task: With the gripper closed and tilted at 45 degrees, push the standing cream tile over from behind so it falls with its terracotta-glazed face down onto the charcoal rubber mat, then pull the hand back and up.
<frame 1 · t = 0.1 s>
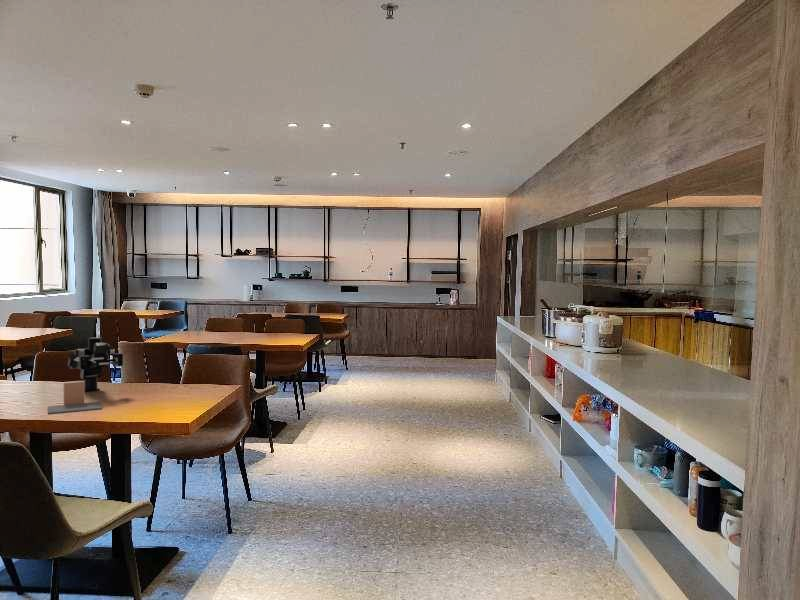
hand: (107, 363, 268), 16 cm above the table, tool horizontal, fingers open, 9 cm apart
glazed tile: (74, 404, 256), on the table
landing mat: (75, 408, 248), on the table
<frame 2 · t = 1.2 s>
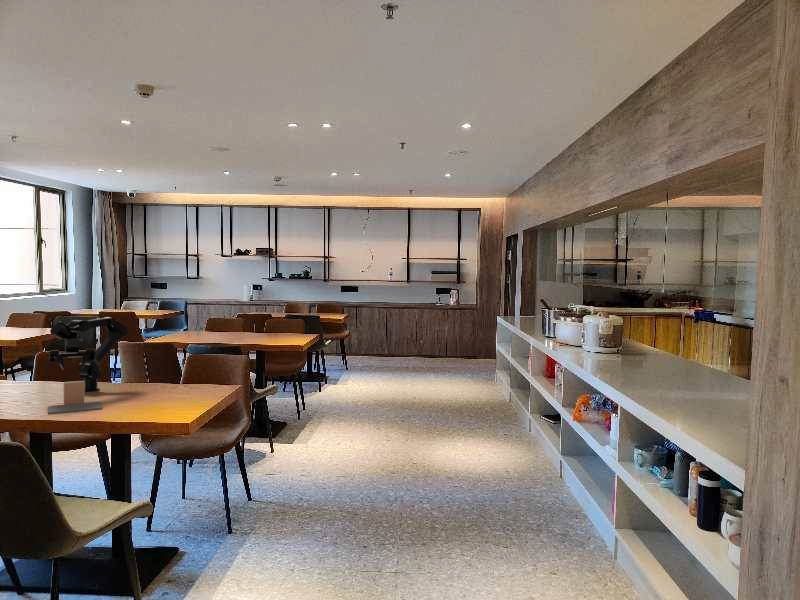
hand: (73, 369, 265), 14 cm above the table, tool tilted 45°, fingers open, 7 cm apart
nothing on the table moved.
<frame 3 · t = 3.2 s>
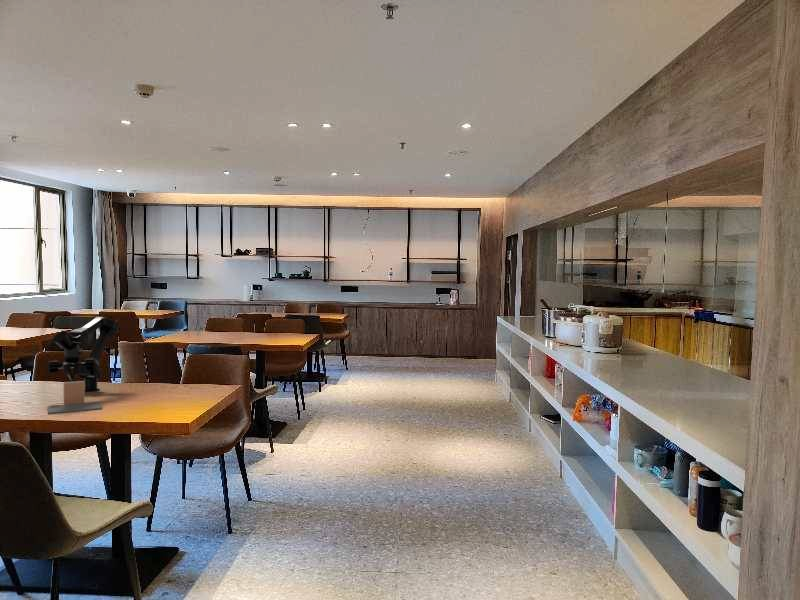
hand: (72, 380, 262), 9 cm above the table, tool tilted 45°, fingers closed
nothing on the table moved.
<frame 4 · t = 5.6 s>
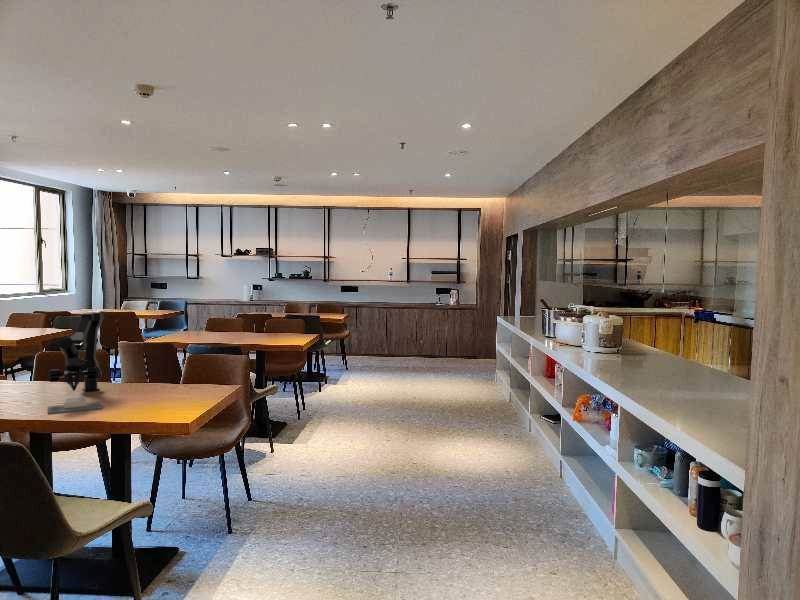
hand: (74, 390, 253), 7 cm above the table, tool tilted 45°, fingers closed
glazed tile: (74, 399, 255), point 2 cm above the table, tilted 90°, touching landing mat
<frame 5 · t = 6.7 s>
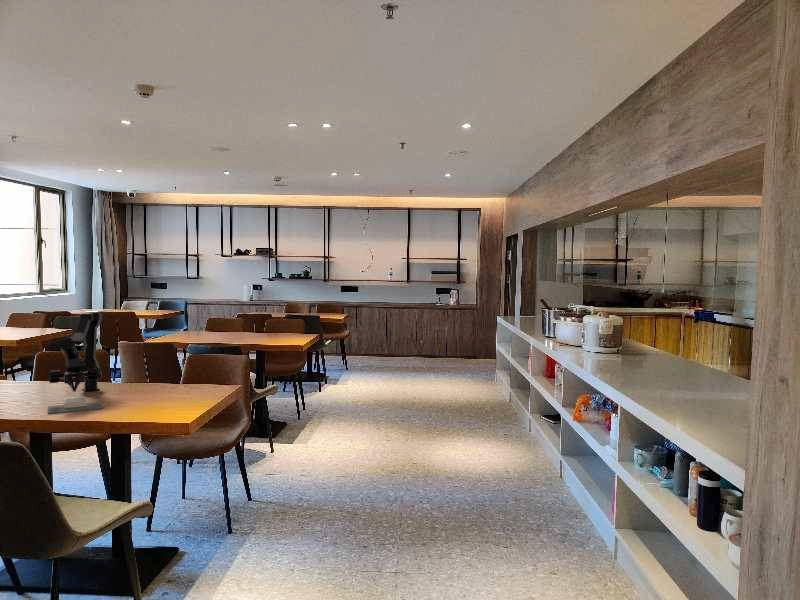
hand: (74, 391, 252), 7 cm above the table, tool tilted 45°, fingers closed
nothing on the table moved.
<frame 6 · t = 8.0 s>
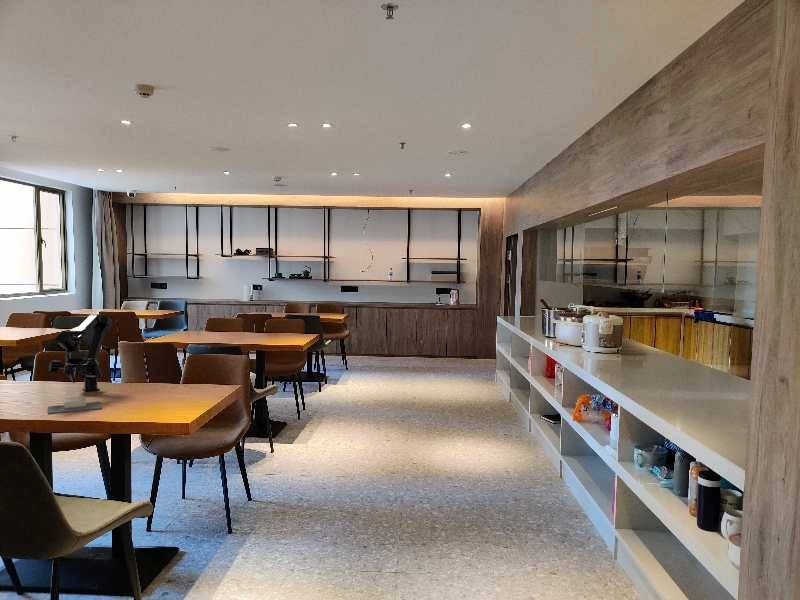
hand: (74, 382, 260), 9 cm above the table, tool tilted 40°, fingers closed
nothing on the table moved.
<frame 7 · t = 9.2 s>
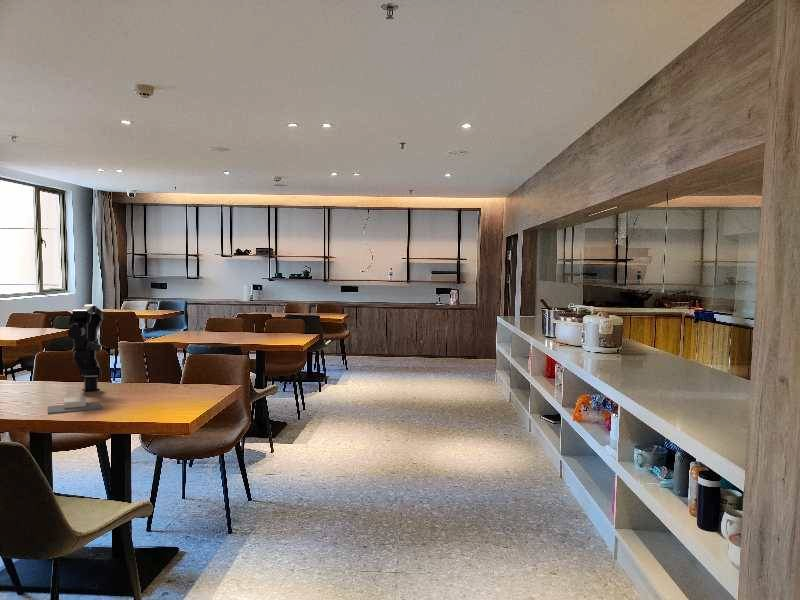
hand: (80, 370, 268), 13 cm above the table, tool pointing down, fingers closed
nothing on the table moved.
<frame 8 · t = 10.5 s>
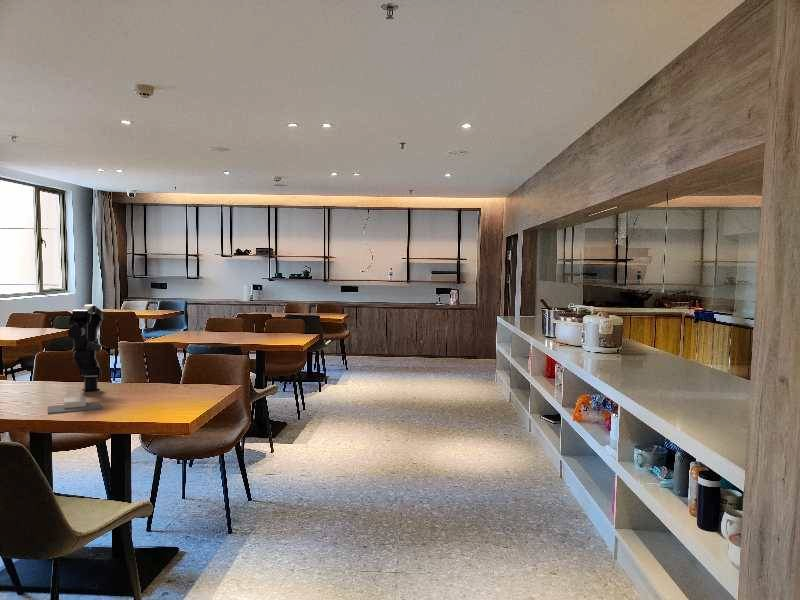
hand: (80, 370, 268), 13 cm above the table, tool pointing down, fingers closed
nothing on the table moved.
at the end: glazed tile tilted 90°; glazed tile touching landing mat; the gripper is holding nothing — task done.
